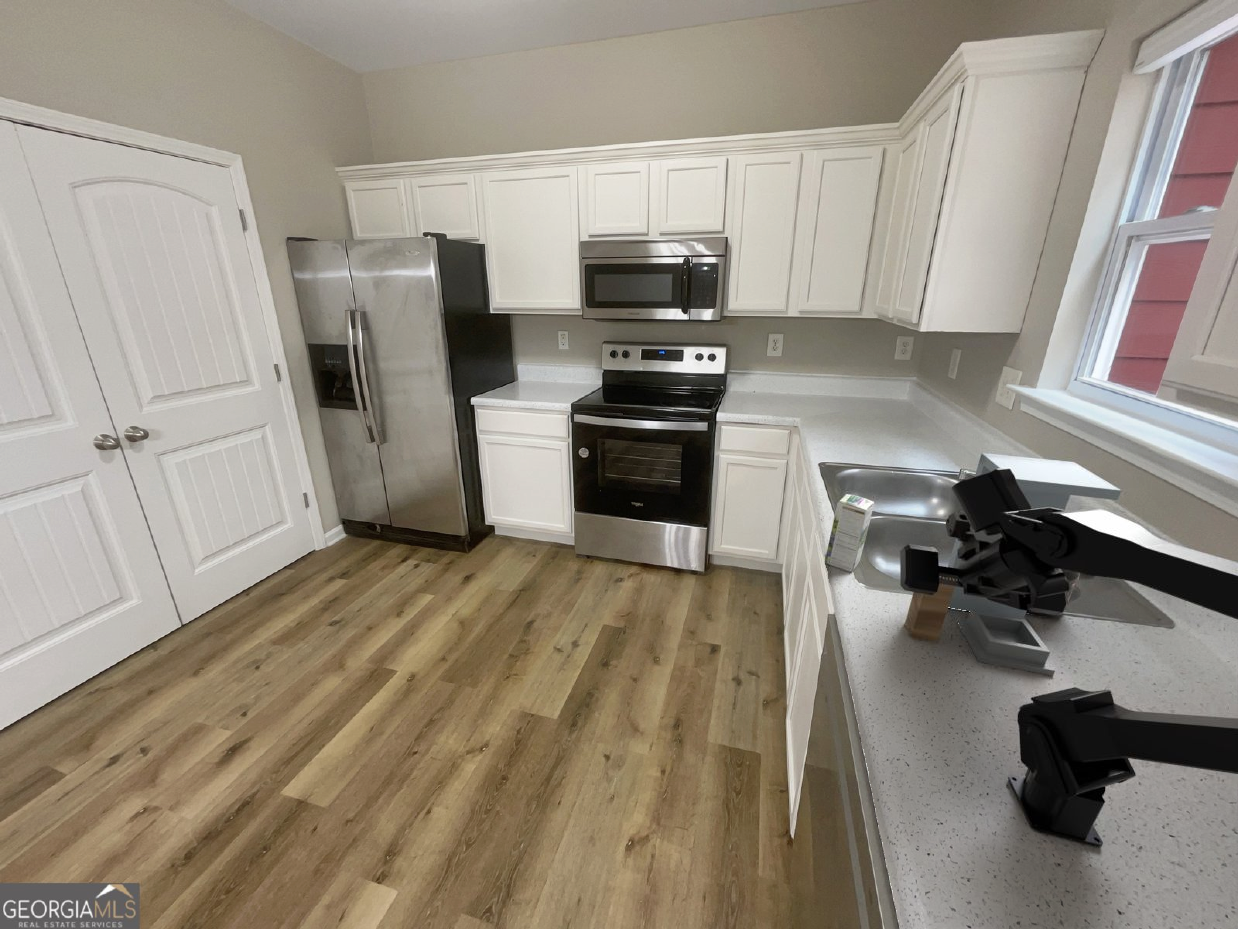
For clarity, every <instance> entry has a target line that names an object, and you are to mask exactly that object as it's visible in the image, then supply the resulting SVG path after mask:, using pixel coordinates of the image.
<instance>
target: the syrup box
mask: <svg viewBox="0 0 1238 929" xmlns="http://www.w3.org/2000/svg"><path fill="white" fill-rule="evenodd" d="M874 505H875V502H874V501H873V500H871V499H868V498H865V497H862V496H857V495H854V494H848V493H846V494H845V495H844V496H843V497H842V498H841V499H840V500H839V501H838V502H837V504H836V507H835V508H836V509H835V514H834V517H833V522H832V525H831V526H832V527H831V530H830V537H829V540H828V545H827V550H826V553H825V558H824V564H827V565H829V566H832V567H835V568H838V569H841V570H843V571H847V572H849V573H853V572H854V570H856V568H857V566H858V565H859V564H860V562H861V560H862V554H863V551H864V546H865V543H866V538H867V534H868V532H869V528H870V523H871V519H872V514H873V510H874ZM859 561H860V562H859ZM858 563H859V564H858Z"/></svg>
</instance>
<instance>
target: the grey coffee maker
mask: <svg viewBox="0 0 1238 929" xmlns="http://www.w3.org/2000/svg"><path fill="white" fill-rule="evenodd" d="M1001 468H1010V469H1011V471H1012V473H1013V474H1014V476H1015V478H1016V482H1017V484H1018V486H1019V487H1020V489H1021V491H1022V492H1023V494H1024V496H1025V497H1026V499H1027V501H1028V502H1029V504H1030V506H1031V507H1032V509H1037V508H1045V507H1053V508H1057V509H1062V510H1066V507H1067V506H1068V505H1067V504H1068V502H1069V500H1070V497H1071V496H1076V497H1086V498H1093V499H1103V500H1113V501H1118V500H1119V498H1120V495H1121V492H1122V489H1120V488H1119V487H1117V486H1115V485H1113V484H1111V483H1110V482H1108V481H1106V480H1105V479H1103V478H1101V477H1100V476H1098V475H1096V474H1094V473H1093V472H1091V471H1090V470H1088V469H1087V468H1085V467H1083V466H1081V465H1080V464H1078V463H1076V462H1074V461H1067V460H1066V461H1064V460H1056V459H1055V460H1054V459H1046V458H1037V457H1026V456H1016V455H1015V456H1014V455H1005V454H998V453H997V454H994V453H988V452H987V453H986V452H984V453H983V452H982V453H981V454H980V457H979V460H978V464H977V468H976V470H975V473H974V477H976V476H979V475H982V474H986V473H990V472H991V471H993V470H995V469H1001ZM960 547H962V542H961V541H958V539H957V538H955V542H954V545H953V548H952V552H951V554H950V558H949V560H948V564H947V567H951V568H958V567H959V565H960V563H961V562H962V559H959V558H958V554H957V549H959V548H960ZM956 581H957V579H956ZM959 581H960V580H959ZM949 607H950V608H955V609H961V610H966V611H971V610H972V611H978V612H984V613H990V614H995V615H1001V616H1007V617H1013V618H1019V619H1025V617H1026V614H1027V613H1026V612H1027V611H1025V610H1019V609H1016V608H1013V607H1010V606H1006V605H1003V604H1000V603H997V602H993V601H990V600H988V599H987V598H985V597H979V596H973V595H966V594H964V588H961V587H954V591H953V594H952V597H951V600H950V604H949Z"/></svg>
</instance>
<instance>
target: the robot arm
mask: <svg viewBox="0 0 1238 929" xmlns="http://www.w3.org/2000/svg"><path fill="white" fill-rule="evenodd" d="M951 491H952V493H953V496H954V497H955V498H956V501H957V502H958V504H959V506H960V509H961V510H959V511H957V512H955V511H954V512H953V513H951V514H949V515H948V516H947V518H946V520H945V528H946V531H947V535H948V537H949V538H955V539H956V538H957V539H958V541H961V542H962V547H960V548H959V549H957V554H958V558H959V559H962V562H961V563H960V565H959V567H958V568H951V567H948V566H945V565H944V566H943V565H939V563H940V562H939V552H938V550H937V548H936V547H933V546H932V547H931V546H925V545H919V544H913V543H908V544H907V545H905V546H904V547H903V548H902V549H900V551H899V559H900V560H899V562H900V563H899V567H900V568H899V569H900V570H899V571H900V572H899V574H900V579H899V580H900V584H899V586H900V587H901V588H902V589H903V590H904V591H907V592H912V593H913V592H916V593H922V594H928V595H933V594H934V593H936V592H937V591H938V587H939V584H942V585H948V586H955V587H961V588H964V594H966V595H973V596H979V597H985V598H987V599H988V600H990V601H993V602H997V603H1000V604H1003V605H1006V606H1010V607H1013V608H1016V609H1019V610H1025V611H1031V612H1037V613H1046V614H1052V615H1055V614H1059V613H1063V612H1064V611H1065V612H1066V610H1067V608H1068V606H1069V601H1068V596H1067V592H1068V591H1070V585H1069V582H1068V580H1067V578H1066V575H1065V573H1063V571H1062V570H1061V569H1064V570H1068V571H1072V572H1077V573H1080V574H1082V575H1087V576H1092V577H1093V576H1095V577H1101V578H1102V577H1103V578H1109V579H1118V580H1124V581H1127V582H1132V583H1136V584H1139V585H1140V586H1141V585H1142V586H1144V587H1147V588H1149V589H1152V590H1155V591H1158V592H1161V593H1163V594H1165V595H1169V596H1172V597H1174V598H1176V599H1180V600H1182V601H1185V602H1189V603H1190V604H1194V605H1196V606H1199V607H1202V608H1204V609H1208V610H1211V611H1212V612H1216V613H1218V614H1222V615H1224V616H1226V617H1229V618H1232V619H1235V620H1238V562H1237V561H1233V560H1230V559H1227V558H1223V557H1219V556H1217V555H1213V554H1209V553H1206V552H1202V551H1199V550H1197V549H1196V550H1195V549H1192V548H1189V547H1186V546H1182V545H1179V544H1174V543H1172V542H1169V541H1167V540H1165V539H1162V538H1159V537H1158V536H1156V535H1154V534H1153V533H1151V532H1150V531H1149V530H1147V529H1146V528H1144V527H1143V526H1142V525H1140V524H1138V523H1136V522H1134V521H1131V520H1129V519H1127V518H1124V517H1123V516H1119V515H1117V514H1115V513H1112V512H1110V511H1108V510H1105V509H1102V508H1093V507H1089V508H1081V509H1072V510H1066V509H1065V510H1062V509H1057V508H1053V507H1045V508H1037V509H1032V507H1031V506H1030V504H1029V502H1028V501H1027V499H1026V497H1025V496H1024V494H1023V492H1022V491H1021V489H1020V487H1019V486H1018V484H1017V482H1016V478H1015V476H1014V474H1013V473H1012V471H1011V469H1010V468H1001V469H995V470H993V471H991V472H990V473H986V474H982V475H979V476H976V477H975V476H973V477H971V478H968V479H962V480H960V481H959V482H957V483H955V484H954V485H953V486H951ZM939 576H941V578H940V577H939ZM943 577H944V579H943ZM946 577H948V578H947V579H946ZM949 578H951V579H949ZM952 578H954V580H953V579H952ZM956 579H957V581H956ZM959 580H960V581H959ZM1065 612H1064V613H1065ZM1064 613H1063V614H1064ZM1030 700H1031V701H1032V702H1030V703H1025V704H1023V705H1021V706H1019V710H1018V712H1017V725H1018V731H1019V732H1018V734H1019V753H1020V755H1019V757H1020V762H1021V764H1023V765H1024V766H1025V767H1026V768H1027V769H1026V771H1025V774H1024V776H1025V777H1021V776H1017V775H1011V774H1010V775H1009V776H1008V778H1007V781H1008V782H1009V784H1010V787H1011V789H1012V791H1013V793H1014V795H1015V797H1016V799H1017V801H1018V804H1019V805H1020V807H1021V810H1022V812H1023V815H1024V816H1025V818H1026V820H1027V823H1028V824H1029V826H1030V828H1031V829H1032V830H1034V831H1035V832H1039V833H1042V834H1045V835H1049V836H1053V837H1058V838H1061V839H1065V840H1069V841H1073V842H1076V843H1081V844H1085V845H1088V846H1093V847H1097V848H1101V847H1102V846H1103V844H1104V842H1103V840H1102V838H1101V836H1100V834H1099V833H1098V831H1097V830H1096V828H1095V827H1094V824H1095V822H1096V820H1097V818H1099V817H1098V816H1099V815H1100V812H1101V811H1102V809H1103V807H1104V805H1105V803H1106V801H1105V798H1104V795H1105V793H1106V790H1107V789H1106V787H1108V786H1112V785H1115V784H1121V783H1125V782H1126V781H1129V780H1131V779H1133V778H1135V777H1136V774H1137V773H1136V771H1135V770H1134V768H1133V764H1131V761H1130V759H1131V760H1138V761H1145V762H1153V763H1159V764H1166V765H1173V766H1180V767H1186V768H1193V769H1200V770H1208V771H1214V772H1219V773H1227V774H1234V775H1235V774H1236V775H1238V718H1236V717H1223V716H1208V715H1197V714H1196V715H1192V714H1180V713H1168V712H1167V713H1164V712H1151V711H1150V712H1149V711H1138V710H1131V709H1128V708H1126V707H1124V706H1121V705H1118V704H1117V703H1115V701H1114V698H1113V694H1112V691H1111V690H1110V689H1101V690H1096V691H1095V690H1094V691H1091V690H1084V689H1081V688H1079V687H1070V688H1066V689H1062V690H1057V691H1052V692H1049V693H1045V694H1044V693H1043V694H1040V695H1037V696H1031V697H1030Z"/></svg>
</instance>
